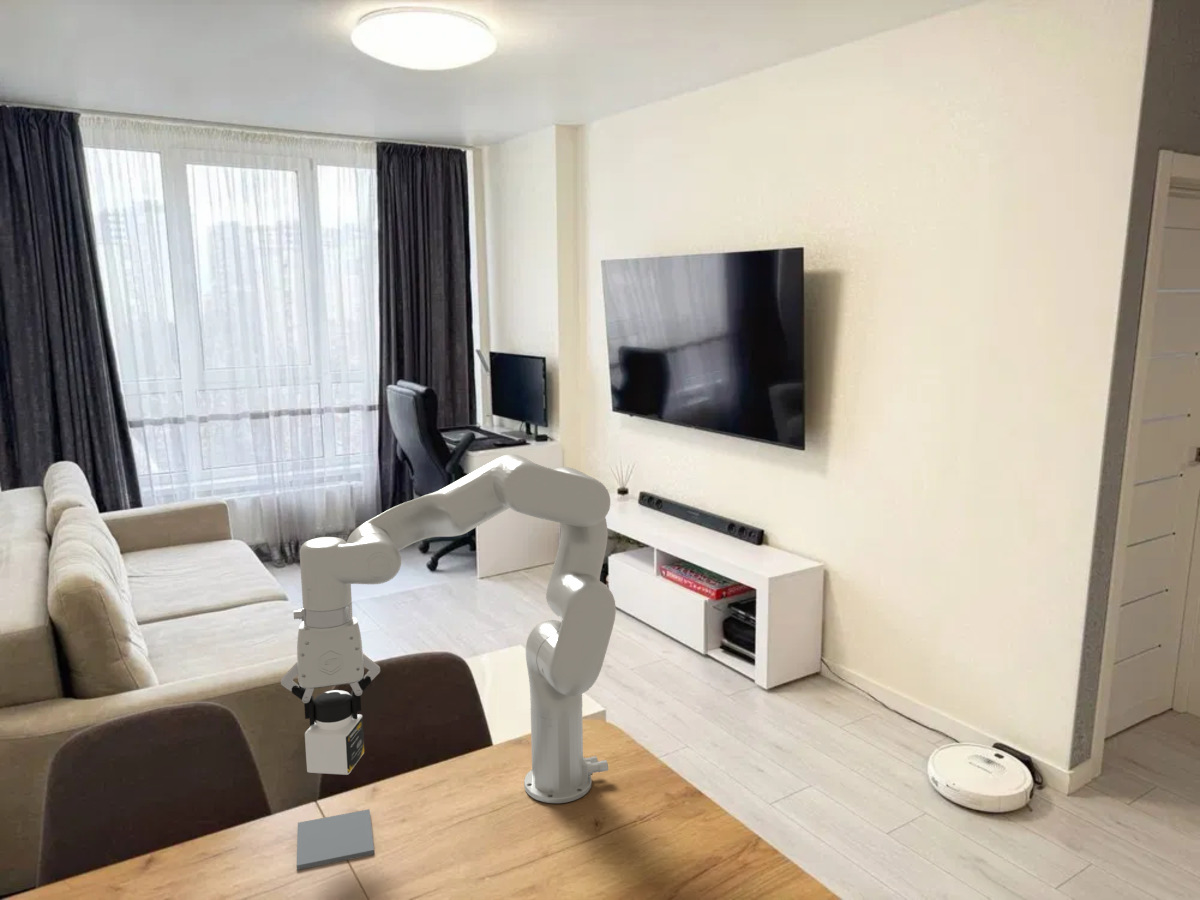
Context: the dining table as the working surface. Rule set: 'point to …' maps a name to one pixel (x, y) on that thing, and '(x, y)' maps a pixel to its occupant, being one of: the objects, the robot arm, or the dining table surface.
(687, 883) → the dining table surface
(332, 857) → the slate mat
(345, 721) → the medicine bottle
